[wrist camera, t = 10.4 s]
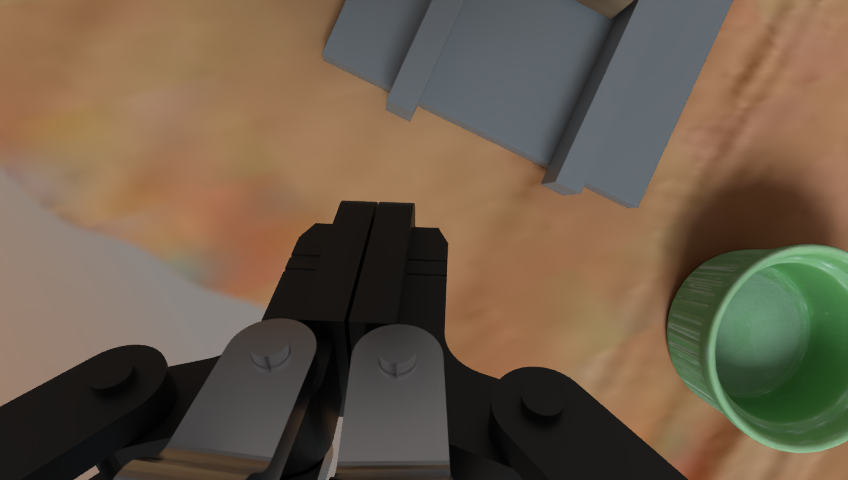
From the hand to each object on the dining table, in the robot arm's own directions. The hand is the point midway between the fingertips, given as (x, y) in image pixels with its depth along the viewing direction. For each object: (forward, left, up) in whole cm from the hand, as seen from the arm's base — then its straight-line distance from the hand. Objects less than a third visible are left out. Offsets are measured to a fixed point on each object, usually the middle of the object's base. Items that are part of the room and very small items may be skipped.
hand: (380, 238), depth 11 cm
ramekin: (+19, +3, -14) cm, 23 cm away
